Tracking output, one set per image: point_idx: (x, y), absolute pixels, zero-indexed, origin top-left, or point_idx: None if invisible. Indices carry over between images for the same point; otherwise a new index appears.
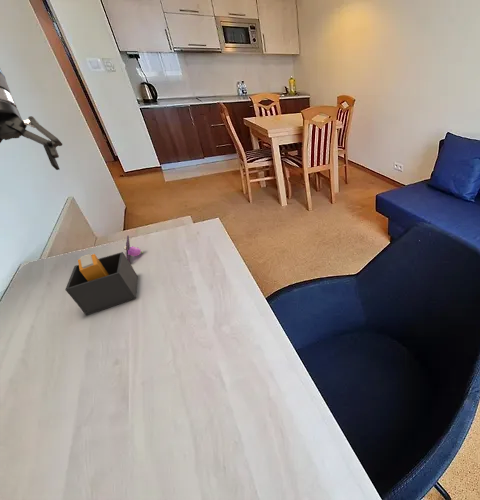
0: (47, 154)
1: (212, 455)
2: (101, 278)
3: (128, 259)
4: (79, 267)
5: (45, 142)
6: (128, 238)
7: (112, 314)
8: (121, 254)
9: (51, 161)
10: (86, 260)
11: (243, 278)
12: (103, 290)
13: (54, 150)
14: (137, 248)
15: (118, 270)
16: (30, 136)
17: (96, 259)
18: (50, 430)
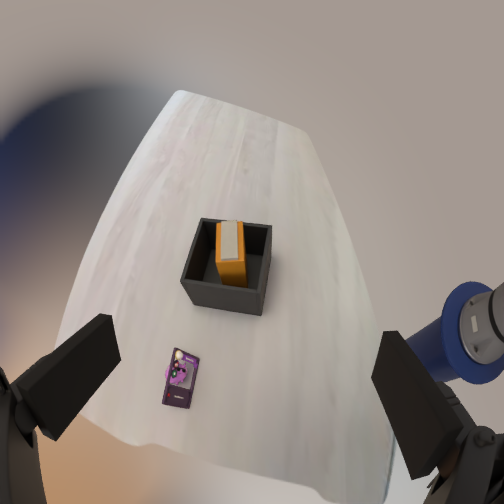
0: (70, 349)
1: (213, 108)
2: (224, 220)
3: (191, 355)
4: (242, 230)
5: (4, 402)
6: (165, 392)
7: None
8: (183, 272)
9: (94, 325)
10: (228, 236)
11: (110, 205)
12: None
13: (31, 367)
14: (166, 370)
15: (199, 224)
16: (9, 487)
17: (216, 241)
18: (290, 147)
